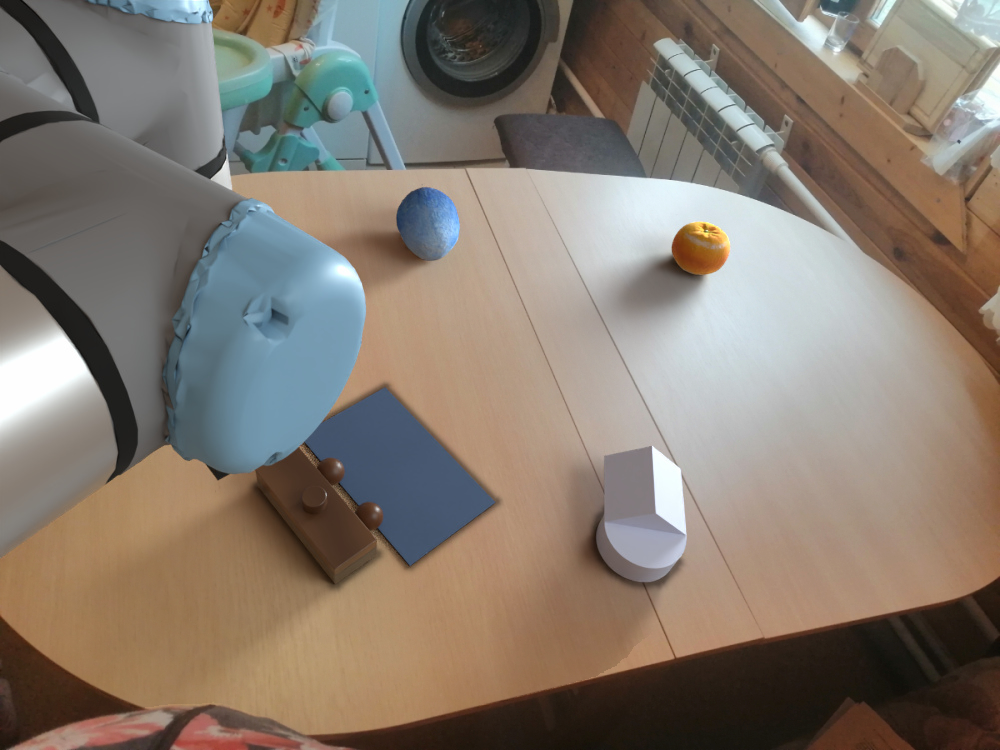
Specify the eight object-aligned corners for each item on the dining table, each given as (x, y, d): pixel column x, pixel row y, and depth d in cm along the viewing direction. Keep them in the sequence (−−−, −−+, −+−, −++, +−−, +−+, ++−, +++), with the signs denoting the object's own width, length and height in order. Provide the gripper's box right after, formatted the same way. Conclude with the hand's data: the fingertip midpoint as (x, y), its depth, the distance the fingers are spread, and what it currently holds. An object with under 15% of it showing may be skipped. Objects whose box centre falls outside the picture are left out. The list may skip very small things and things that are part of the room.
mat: (409, 566, 74) (409, 565, 73) (299, 436, 81) (299, 435, 81) (495, 502, 80) (495, 502, 80) (385, 387, 88) (385, 387, 88)
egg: (440, 151, 104) (453, 220, 95) (458, 195, 111) (472, 264, 102) (383, 169, 105) (391, 240, 96) (404, 212, 112) (413, 282, 103)
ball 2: (368, 539, 75) (360, 535, 73) (353, 516, 76) (344, 511, 74) (392, 521, 76) (384, 516, 73) (376, 499, 77) (368, 493, 74)
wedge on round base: (596, 471, 85) (596, 574, 76) (612, 438, 80) (613, 545, 71) (670, 484, 85) (678, 588, 77) (691, 452, 80) (702, 560, 72)
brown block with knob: (335, 584, 71) (334, 562, 67) (257, 486, 76) (252, 461, 73) (376, 555, 74) (377, 532, 70) (299, 462, 79) (296, 436, 75)
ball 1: (332, 494, 78) (321, 487, 75) (317, 475, 79) (305, 467, 76) (354, 475, 78) (343, 467, 76) (338, 457, 79) (327, 448, 77)
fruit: (708, 221, 115) (717, 202, 107) (734, 267, 113) (745, 251, 105) (660, 244, 115) (665, 227, 107) (685, 291, 114) (692, 277, 106)
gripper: (236, 153, 44) (266, 395, 61) (2, 222, 37) (111, 473, 54) (306, 220, 41) (316, 454, 58) (66, 309, 34) (159, 545, 51)
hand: (217, 463), depth 56 cm, fingers closed
